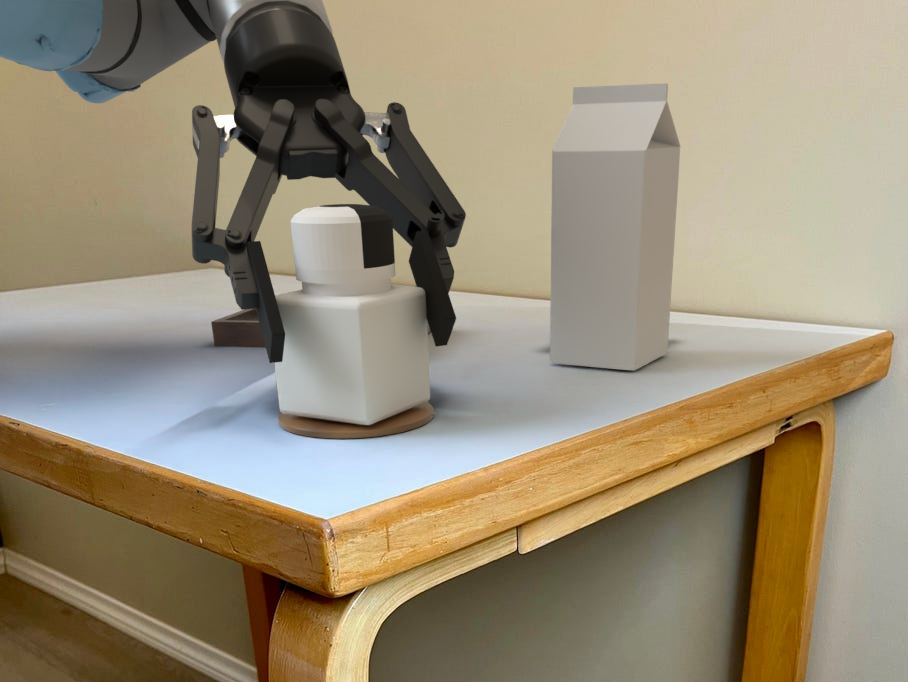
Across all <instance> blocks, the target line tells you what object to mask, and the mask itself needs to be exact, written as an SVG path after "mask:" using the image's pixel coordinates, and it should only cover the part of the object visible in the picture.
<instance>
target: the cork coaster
mask: <svg viewBox="0 0 908 682" xmlns="http://www.w3.org/2000/svg"><path fill="white" fill-rule="evenodd" d="M434 410H435V409H434V407H433V405H432V404H431V403H429V401H427V402H425V403H423V404H420V405H418V406H415V407H413V408H410V409H408V410H405V411H403V412H400V413H398V414H396V415H393V416H391V417H388V418H386V419H383V420H381V421H378V422H376V423H374V424H371V425H361V424H354V423H347V422H339V421H332V420H325V419H317V418H310V417H303V416H295V415H288V414H283V413H282V412H281V411H280V412H279V413H278V415H277V420H278V425H279V426H280V428H282V429H283V430H284V431H286V432H289V433H292V434H295V435H300V436H304V437H310V438H320V439H339V440H342V439H345V440H346V439H365V438H377V437H382V436H384V437H385V436H389V435H395V434H399V433H404V432H409V431H411V430H414V429H418V428H420V427H423V426H424V425H426V424H428V423H430V422H431V421H432V420H433V418H434V416H435V411H434Z"/></svg>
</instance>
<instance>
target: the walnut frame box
mask: <svg viewBox="0 0 908 682" xmlns="http://www.w3.org/2000/svg"><path fill="white" fill-rule="evenodd" d="M211 330H212V337H213V345H214V347H225V348H265V349H266V347H265V343H264V339H263V335H262V332H261V328H260V324H259V320H258V316H257V313H256V309H244V310H239V311H237V312H233V313H231V314H228V315H226V316H223V317H220V318H217V319H215V320H213V321H212V320H211ZM427 333H428V334H430V333H431V330H430V327H429V324H428V321H427Z"/></svg>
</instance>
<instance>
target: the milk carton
mask: <svg viewBox="0 0 908 682" xmlns="http://www.w3.org/2000/svg"><path fill="white" fill-rule="evenodd" d="M668 91H669V83H667V82H666V83H665V82H664V83H645V84H622V85H599V86H598V85H597V86H579V87H578V86H576V87H575V86H574V87H573V88H572V105H571V107H570V110H569V112H568V113H567V116H566V118H565V120H564V123H563V125H562V126H561V127H562V128H561V130H560V131H559V134H558V137H557V139H556V140H555V143H554V145H553V147H552V150H551V228H550V230H551V231H550V232H551V235H550V315H549V316H550V317H549V318H550V325H549V340H550V341H549V362H550V364H556V365H568V366H578V367H579V366H580V367H589V368H598V369H599V368H600V369H611V370H623V371H636V370H638V369H641V368H642V367H644V366H646V365H648V364H649V363H652V362H653V361H655V360H657V359H659V358H661V357H663V356H664V355H666V354H667V353H668V351H669V350H668V349H669V335H670V334H669V333H670V318H671V317H670V316H671V304H672V303H671V301H672V286H673V272H674V271H673V270H674V257H675V256H674V253H675V240H676V239H675V238H676V223H677V208H678V207H677V205H678V194H679V193H678V190H679V178H680V177H679V174H680V158H681V143H680V140H679V137H678V133H677V129H676V127H675V122H674V120H673V116H672V113H671V112H672V111H671V108H670V105H669V103H668Z"/></svg>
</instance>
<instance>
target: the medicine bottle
mask: <svg viewBox="0 0 908 682" xmlns="http://www.w3.org/2000/svg"><path fill="white" fill-rule="evenodd" d="M290 230H291V241H292V242H291V243H292V250H293V251H292V252H293V260H294V271H295V272H294V273H295V279H296V281H298V282H301V288H302V289H298V290H294V291H288V292H285V293H280V294H275V297H276V301H277V305H278V309H279V312H280V316H281V320H282V323H283V327H284V331H285V342H284V351H283V360H282V362H275V363H273V364H274V371H275V380H276V381H275V382H276V391H277V399H278V406H279V411H280V412H282V413H283V414H288V415H295V416H303V417H310V418H317V419H325V420H332V421H339V422H347V423H354V424H361V425H371V424H374V423H376V422H378V421H381V420H383V419H386V418H388V417H391V416H393V415H396V414H398V413H400V412H403V411H405V410H408V409H410V408H413V407H415V406H418V405H420V404H423V403H425V402H429V400H430V399H431V380H430V378H431V377H430V359H429V336H428V335H429V333H427V311H426V293H425V290H424V289H423V288H420V287H417V286H413V285H401V284H400V285H399V284H392V280H391V279H392V278H394V277H396V275H397V273H396V263H395V262H396V257H395V256H396V255H395V242H394V241H395V240H394V229H393V221H392V217H391V215H390V214H389V213H388V212H387V211H385V210H383V209H381V208H379V207H377V206H371V205H369V204H361V203H337V204H323V205H316V206H311V207H305V208H303V209H300V211H298V212H296V213H295V214H293V216H292V218H291V219H290Z"/></svg>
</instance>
